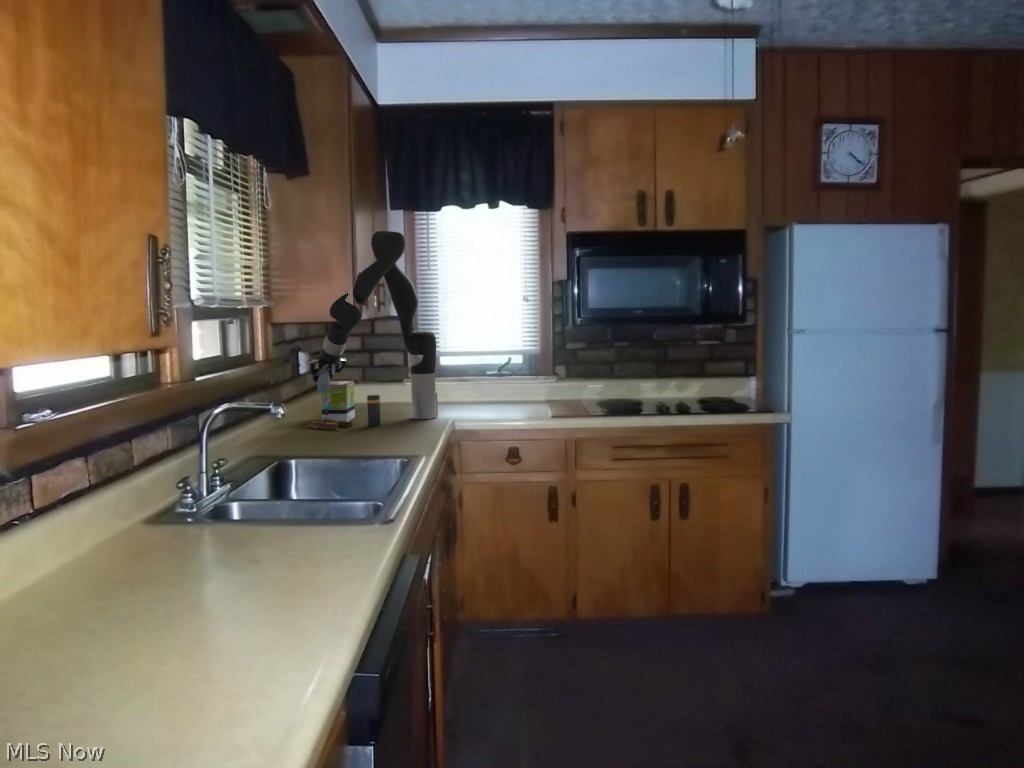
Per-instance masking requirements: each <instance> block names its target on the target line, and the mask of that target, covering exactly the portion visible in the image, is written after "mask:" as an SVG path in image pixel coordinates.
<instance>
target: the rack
mask: <svg viewBox="0 0 1024 768" xmlns="http://www.w3.org/2000/svg"><path fill="white" fill-rule="evenodd" d="M338 426H343V427H342V428H348V427H352V428H353V421H337V420H326V419H325V420H322V419H319V420H314V421H308V428H309V427H317V428H326V429H334V430H333V431H338V430H339V427H338ZM317 428H316V429H317ZM326 429H325V430H326ZM337 429H338V430H337Z"/></svg>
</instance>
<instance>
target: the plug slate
mask: <svg viewBox="0 0 1024 768" xmlns="http://www.w3.org/2000/svg"><path fill="white" fill-rule="evenodd" d="M330 381H331V380H330V369H328V368H327V369H324V371H323V372H321V373H320V374H319V378H318V380H317V382H316V383H317V392H318V393H321V392H329V391H330Z"/></svg>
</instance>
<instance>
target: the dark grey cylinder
mask: <svg viewBox="0 0 1024 768" xmlns="http://www.w3.org/2000/svg"><path fill="white" fill-rule="evenodd" d="M380 397H381V395H380V394H369V395H366V403H367V427H371V428H375V427H376V426H378V427H381V426H382V424H381V398H380Z"/></svg>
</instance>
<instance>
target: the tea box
mask: <svg viewBox="0 0 1024 768" xmlns="http://www.w3.org/2000/svg"><path fill="white" fill-rule="evenodd" d="M320 394H321V395H320V396H321V420H325V419H326V420H337V421H348V422H351V420H353V419H355V418H354V417H356V412H355V411H356V410H355V409H356V407H355V406H356V405H355V404H356V403H355V402H356V400H355V381H354V380H333V381H332V380H330V391H329V392H320Z"/></svg>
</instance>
